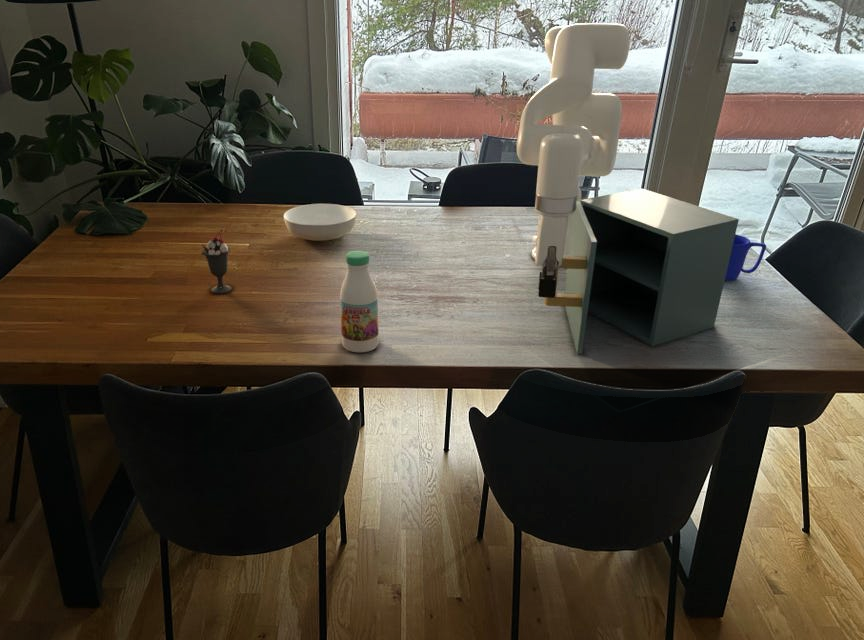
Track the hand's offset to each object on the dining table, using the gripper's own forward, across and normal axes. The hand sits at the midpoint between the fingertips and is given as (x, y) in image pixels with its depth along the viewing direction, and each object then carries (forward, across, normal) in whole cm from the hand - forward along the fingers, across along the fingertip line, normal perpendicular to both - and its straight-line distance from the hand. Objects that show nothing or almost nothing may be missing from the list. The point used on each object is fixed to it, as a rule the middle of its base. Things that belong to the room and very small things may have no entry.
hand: (546, 293), depth 143 cm
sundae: (+12, -17, -77) cm, 80 cm away
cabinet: (+12, -19, +21) cm, 31 cm away
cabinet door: (+12, -10, +3) cm, 15 cm away
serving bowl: (+12, -59, -63) cm, 87 cm away
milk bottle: (+12, +6, -37) cm, 39 cm away
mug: (+12, -44, +46) cm, 65 cm away
